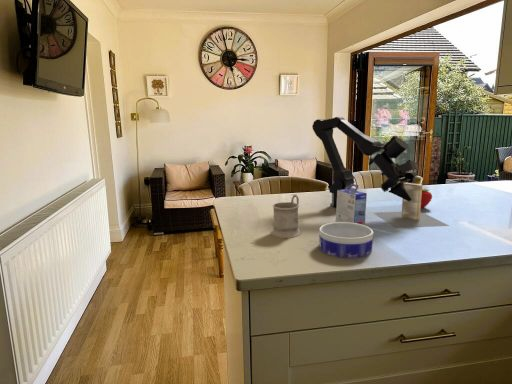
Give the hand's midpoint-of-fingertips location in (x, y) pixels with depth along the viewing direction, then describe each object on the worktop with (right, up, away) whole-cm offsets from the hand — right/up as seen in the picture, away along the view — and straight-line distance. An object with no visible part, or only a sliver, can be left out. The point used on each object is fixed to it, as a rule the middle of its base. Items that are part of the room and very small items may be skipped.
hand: (414, 199), depth 131 cm
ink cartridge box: (-24, -9, -2) cm, 26 cm away
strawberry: (+11, -4, +17) cm, 21 cm away
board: (0, -7, +2) cm, 7 cm away
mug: (-47, -11, -9) cm, 49 cm away
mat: (-1, -8, +2) cm, 8 cm away
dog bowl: (-32, -14, -25) cm, 43 cm away
